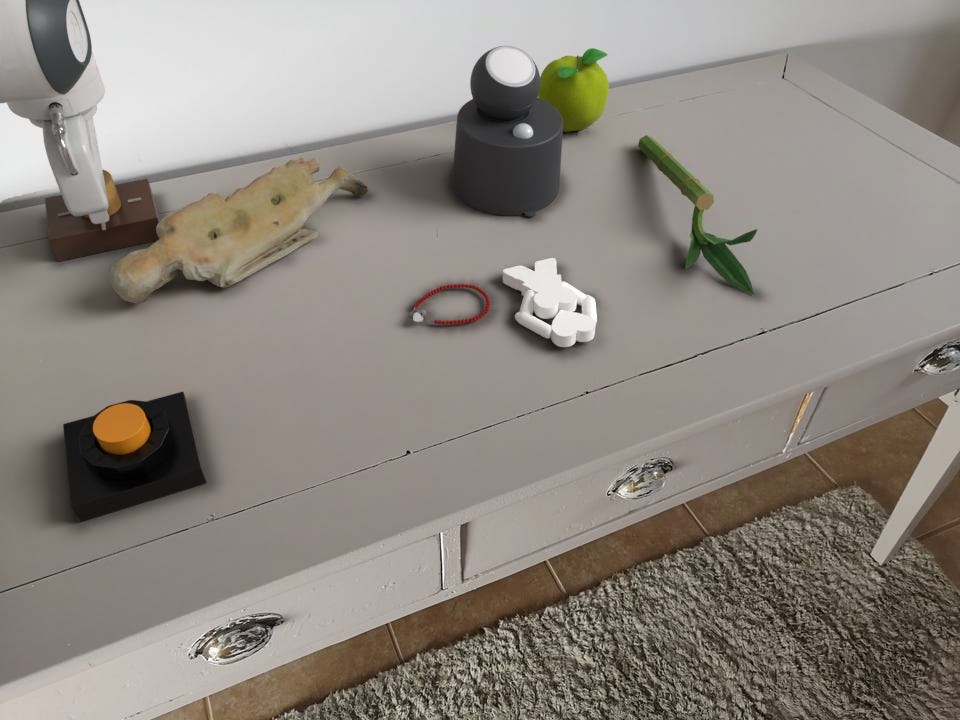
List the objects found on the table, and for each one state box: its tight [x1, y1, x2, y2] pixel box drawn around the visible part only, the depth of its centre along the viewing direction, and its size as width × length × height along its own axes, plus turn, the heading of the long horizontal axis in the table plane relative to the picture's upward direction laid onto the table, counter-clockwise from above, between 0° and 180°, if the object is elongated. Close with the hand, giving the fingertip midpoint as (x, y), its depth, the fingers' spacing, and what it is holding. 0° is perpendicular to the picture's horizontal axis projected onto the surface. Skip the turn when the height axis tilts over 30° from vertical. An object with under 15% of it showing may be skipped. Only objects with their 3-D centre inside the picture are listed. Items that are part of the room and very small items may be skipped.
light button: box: [93, 403, 151, 455], centre depth 63 cm, size 4×4×2 cm
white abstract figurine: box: [502, 257, 598, 348], centre depth 81 cm, size 9×12×2 cm
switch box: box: [62, 391, 207, 523], centre depth 65 cm, size 10×9×4 cm
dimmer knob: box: [83, 169, 121, 219], centre depth 84 cm, size 4×4×4 cm
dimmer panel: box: [44, 178, 161, 262], centre depth 87 cm, size 11×9×3 cm
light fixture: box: [451, 45, 564, 218], centre depth 91 cm, size 13×16×14 cm
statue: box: [109, 157, 369, 305], centre depth 84 cm, size 10×7×30 cm
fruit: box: [538, 47, 610, 133], centre depth 103 cm, size 9×9×10 cm
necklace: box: [412, 283, 491, 325], centre depth 81 cm, size 9×6×1 cm
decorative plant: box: [637, 134, 758, 295], centre depth 92 cm, size 6×8×30 cm
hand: (97, 200), depth 85 cm, fingers open, 6 cm apart
